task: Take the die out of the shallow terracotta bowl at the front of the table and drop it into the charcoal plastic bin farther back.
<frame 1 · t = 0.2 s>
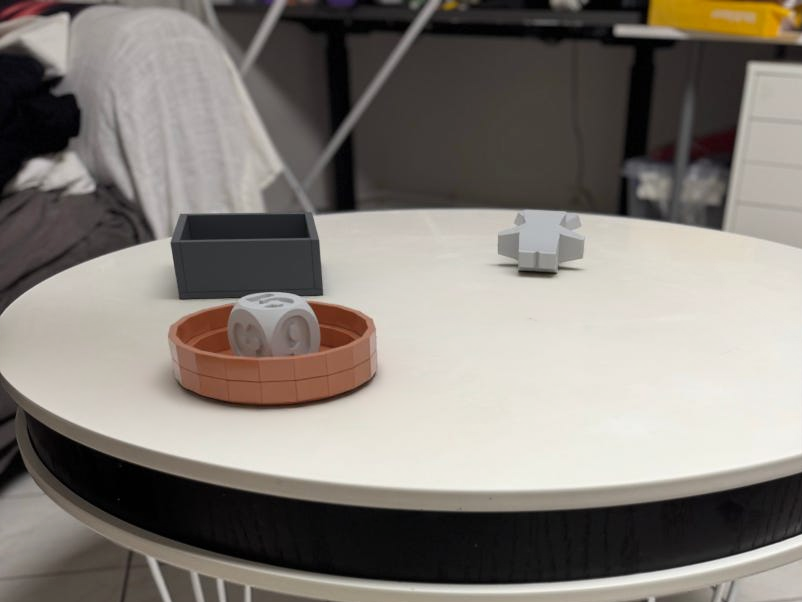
die: (278, 369, 70), resting on bowl
bowl: (278, 372, 70), on the table
bin: (252, 279, 93), on the table
grey angular piece: (541, 263, 103), on the table
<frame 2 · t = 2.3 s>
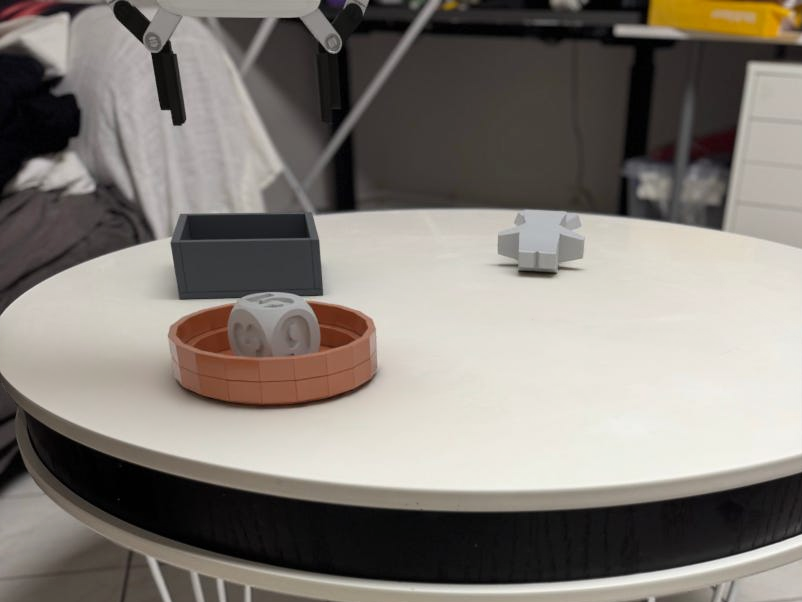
hand: (253, 122, 61), 17 cm above the table, tool pointing down, fingers open, 9 cm apart
nothing on the table moved.
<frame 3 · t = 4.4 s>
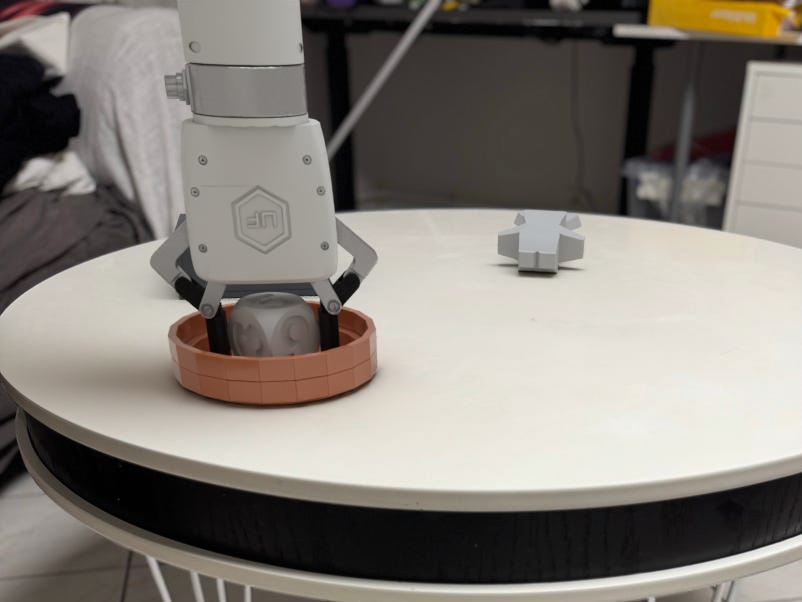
hand: (277, 362, 70), 1 cm above the table, tool pointing down, fingers closed on die, 7 cm apart
die: (278, 369, 70), resting on bowl, touching gripper
everything else where it was.
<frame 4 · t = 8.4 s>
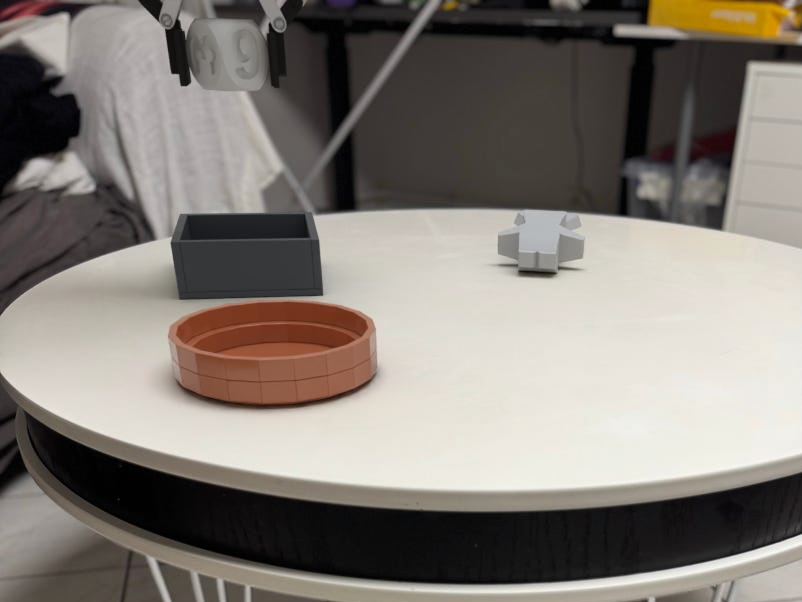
hand: (231, 84, 78), 18 cm above the table, tool pointing down, fingers closed on die, 7 cm apart
die: (231, 91, 79), point 17 cm above the table, touching gripper
everything else where it was.
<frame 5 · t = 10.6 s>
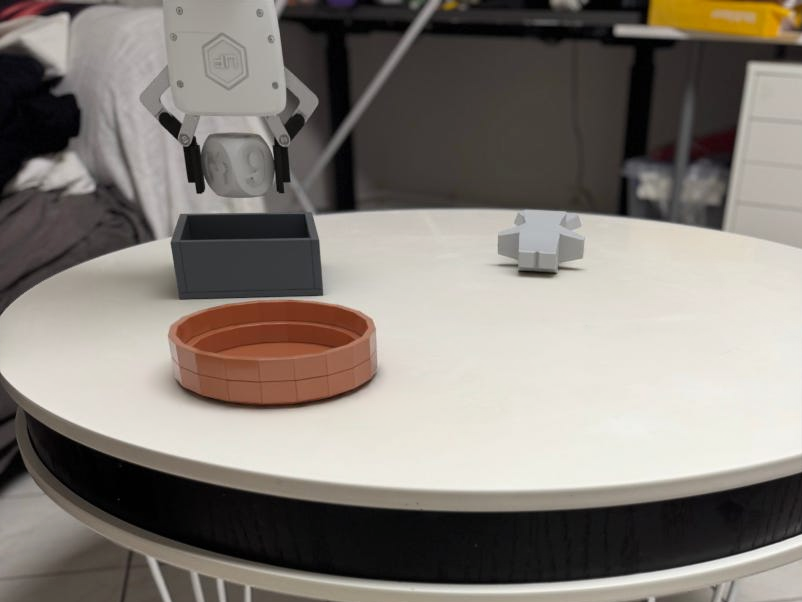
hand: (240, 189, 88), 8 cm above the table, tool pointing down, fingers closed on die, 7 cm apart
die: (241, 195, 88), point 8 cm above the table, touching gripper
everything else where it was.
when the fingers open (4 cm above the table, at t = 12.3 s): die drops 4 cm, resting on bin.
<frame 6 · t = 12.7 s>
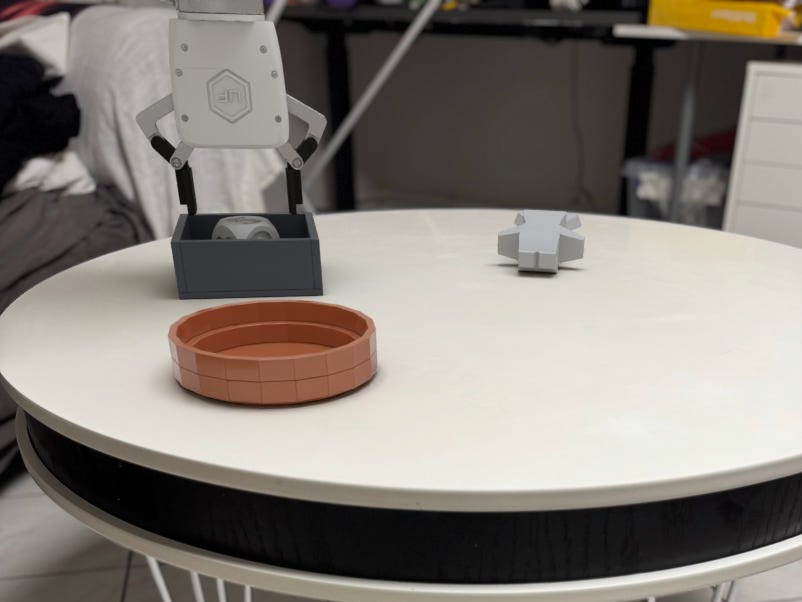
hand: (243, 212, 89), 6 cm above the table, tool pointing down, fingers open, 9 cm apart
die: (250, 275, 93), resting on bin
everything else where it was.
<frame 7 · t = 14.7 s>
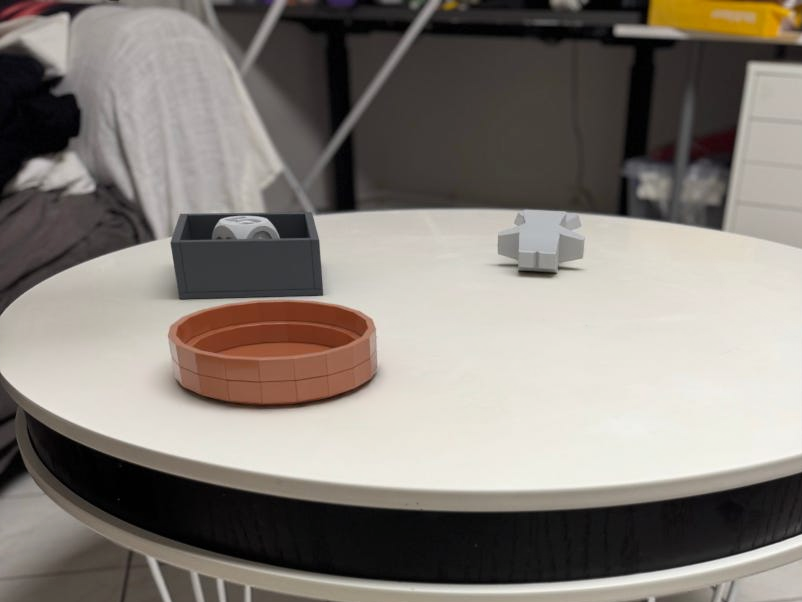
nothing on the table moved.
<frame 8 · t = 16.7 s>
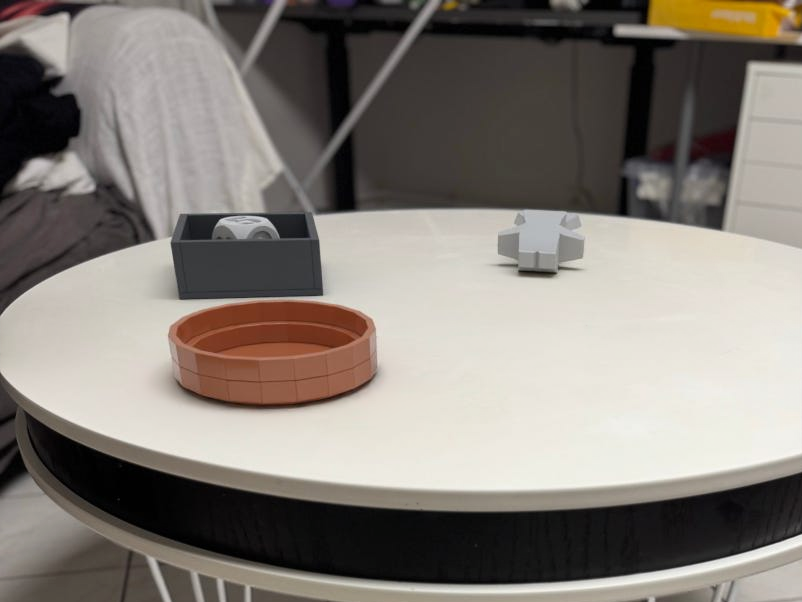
nothing on the table moved.
at the end: die inside the target area in the bin (0.2 cm from its centre), point 0.4 cm above the bin's base; the gripper is holding nothing; die moved 29.0 cm from its start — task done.
